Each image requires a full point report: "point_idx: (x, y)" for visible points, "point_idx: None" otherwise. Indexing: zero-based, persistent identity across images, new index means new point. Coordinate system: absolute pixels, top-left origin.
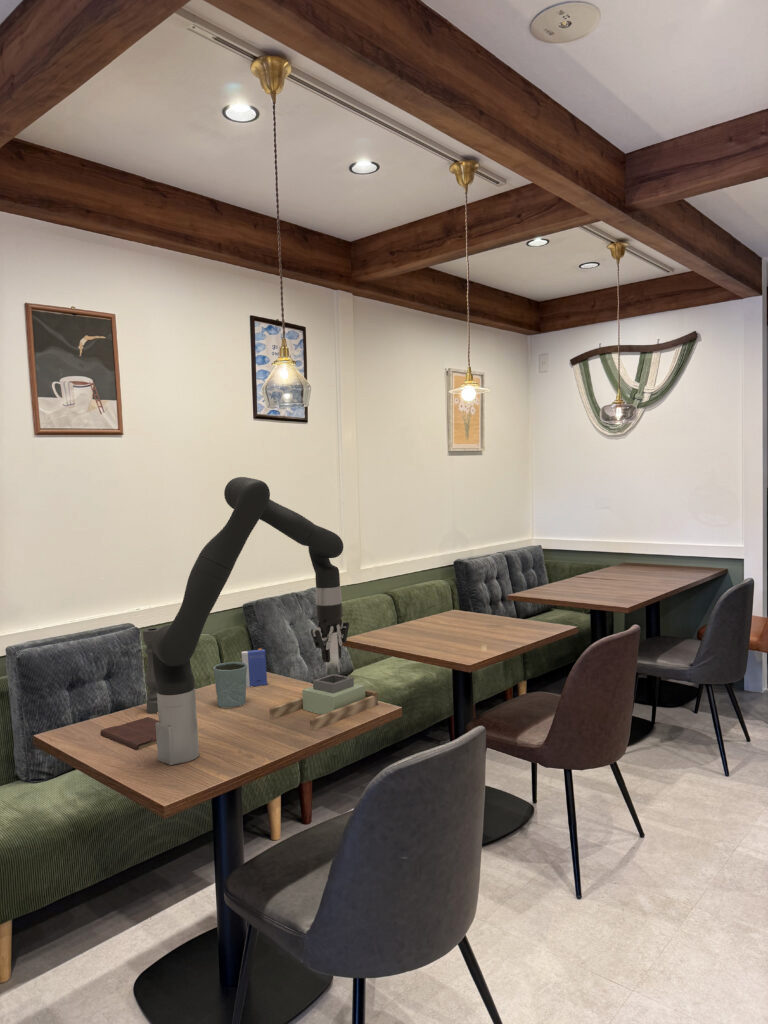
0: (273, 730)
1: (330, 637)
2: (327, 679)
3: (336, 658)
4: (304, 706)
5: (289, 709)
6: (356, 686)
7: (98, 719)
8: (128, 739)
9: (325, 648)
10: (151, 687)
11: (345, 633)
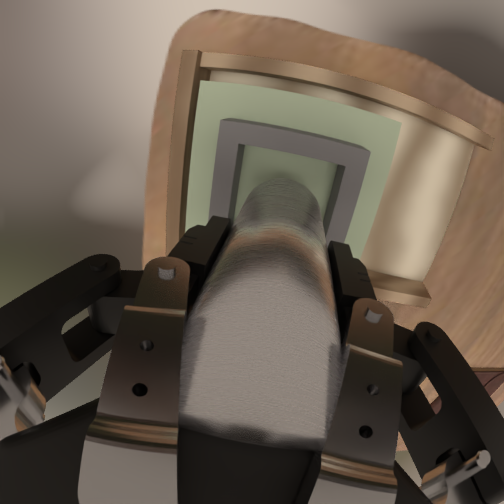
0: (459, 248)
1: (364, 387)
2: None
3: (288, 212)
4: None
5: (375, 277)
6: (229, 104)
7: (402, 450)
8: (493, 391)
9: (387, 319)
10: None
11: (43, 308)
